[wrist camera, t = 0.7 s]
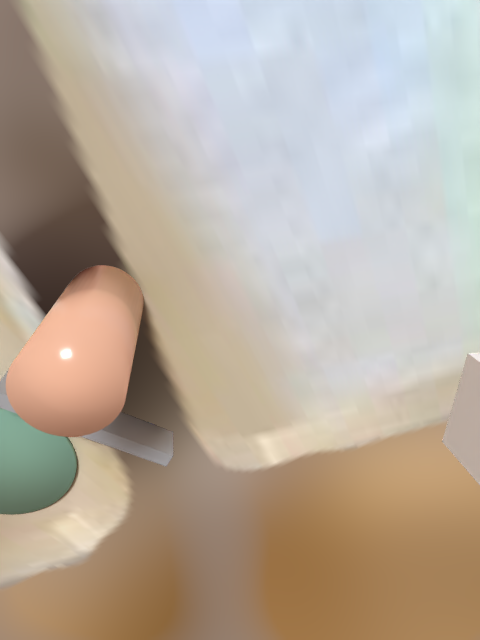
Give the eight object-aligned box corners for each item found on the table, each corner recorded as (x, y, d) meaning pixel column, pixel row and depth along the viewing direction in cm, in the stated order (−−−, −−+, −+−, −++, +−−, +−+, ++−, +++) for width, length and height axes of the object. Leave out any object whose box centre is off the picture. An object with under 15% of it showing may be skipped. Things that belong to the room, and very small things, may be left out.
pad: (-83, 488, 35) (-85, 491, 35) (-39, 387, 32) (-42, 390, 32) (47, 524, 39) (46, 528, 39) (98, 436, 36) (97, 439, 35)
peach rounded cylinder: (54, 315, 31) (-12, 412, 20) (85, 251, 30) (31, 319, 19) (123, 346, 33) (98, 450, 22) (156, 287, 31) (145, 368, 20)
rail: (3, 381, 33) (-13, 403, 30) (9, 368, 32) (-7, 390, 30) (167, 442, 37) (166, 466, 34) (173, 432, 37) (173, 455, 34)
